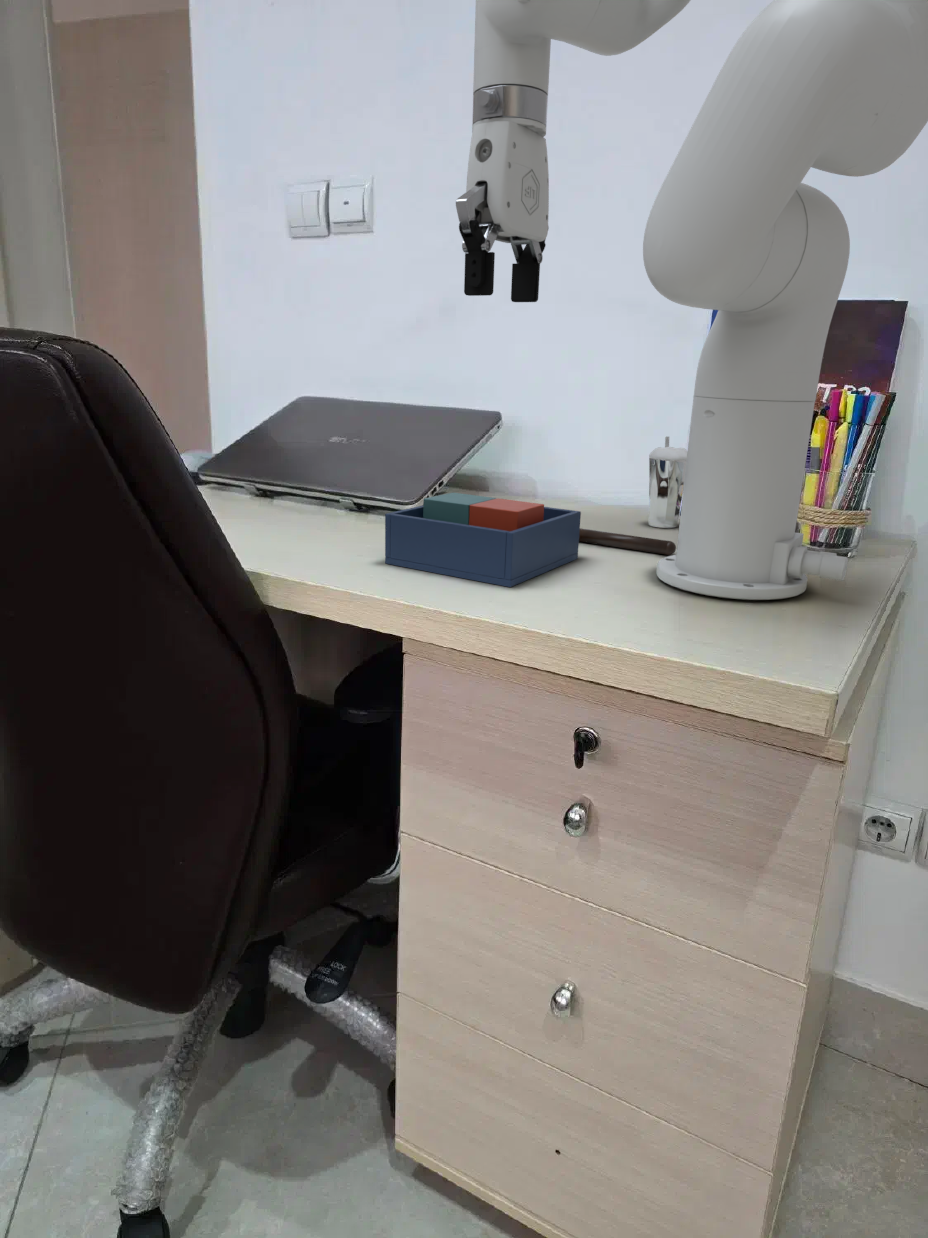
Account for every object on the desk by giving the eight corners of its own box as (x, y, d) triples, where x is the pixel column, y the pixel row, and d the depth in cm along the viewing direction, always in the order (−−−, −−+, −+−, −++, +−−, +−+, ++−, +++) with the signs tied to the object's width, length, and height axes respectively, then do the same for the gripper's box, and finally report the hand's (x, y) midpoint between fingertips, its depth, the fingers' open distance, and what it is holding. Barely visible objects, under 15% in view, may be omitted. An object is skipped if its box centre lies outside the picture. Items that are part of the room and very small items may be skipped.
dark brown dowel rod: (682, 551, 84) (683, 538, 83) (667, 559, 80) (668, 545, 80) (453, 518, 98) (454, 506, 97) (432, 523, 94) (432, 511, 94)
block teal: (494, 549, 80) (496, 497, 78) (467, 559, 76) (468, 504, 74) (451, 542, 82) (452, 492, 81) (422, 551, 78) (423, 498, 77)
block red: (541, 557, 77) (544, 504, 76) (515, 567, 73) (518, 511, 72) (495, 549, 80) (497, 498, 78) (467, 559, 76) (469, 504, 74)
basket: (577, 558, 80) (581, 511, 78) (510, 587, 69) (512, 533, 68) (462, 539, 86) (463, 495, 85) (384, 563, 76) (384, 513, 74)
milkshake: (678, 521, 100) (687, 437, 97) (685, 530, 95) (694, 441, 92) (640, 519, 100) (648, 435, 97) (645, 528, 95) (653, 439, 92)
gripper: (498, 88, 75) (491, 291, 80) (579, 133, 89) (569, 303, 94) (430, 99, 78) (427, 292, 84) (518, 140, 92) (511, 304, 97)
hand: (502, 298), depth 89 cm, fingers open, 9 cm apart
